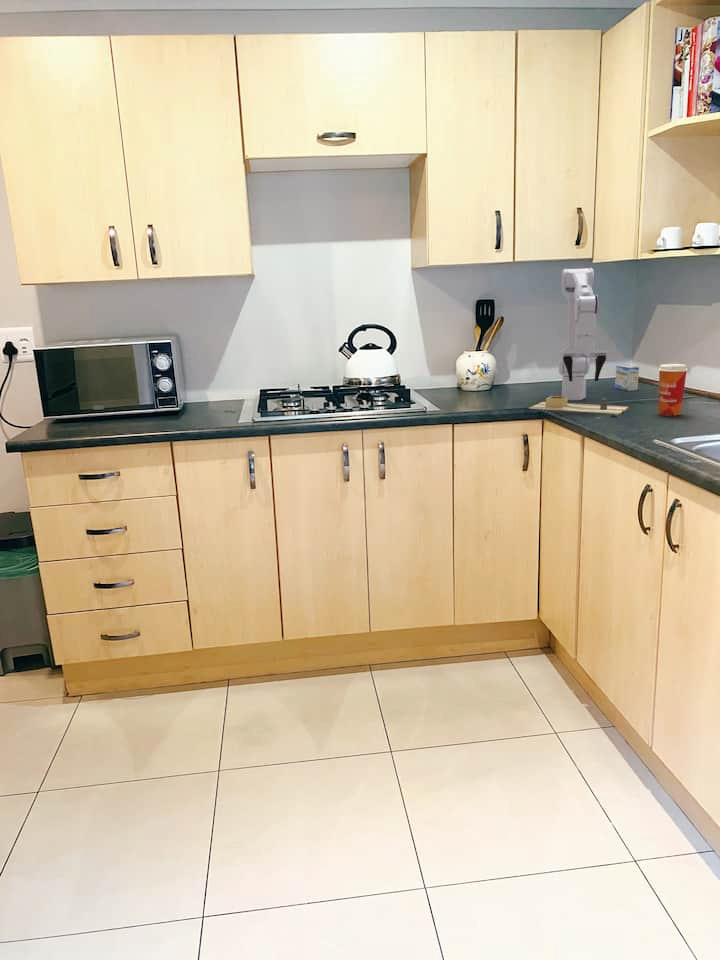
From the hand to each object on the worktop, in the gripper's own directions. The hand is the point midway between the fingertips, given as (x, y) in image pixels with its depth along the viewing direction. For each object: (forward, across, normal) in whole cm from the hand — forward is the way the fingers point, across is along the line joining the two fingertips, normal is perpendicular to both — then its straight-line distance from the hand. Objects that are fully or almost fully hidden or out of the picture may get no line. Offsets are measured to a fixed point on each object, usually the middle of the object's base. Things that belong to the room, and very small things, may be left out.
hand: (583, 381), depth 222 cm
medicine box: (+6, +23, +53) cm, 58 cm away
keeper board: (+10, 0, +8) cm, 13 cm away
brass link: (+8, -7, +11) cm, 15 cm away
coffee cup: (+11, +26, 0) cm, 28 cm away
